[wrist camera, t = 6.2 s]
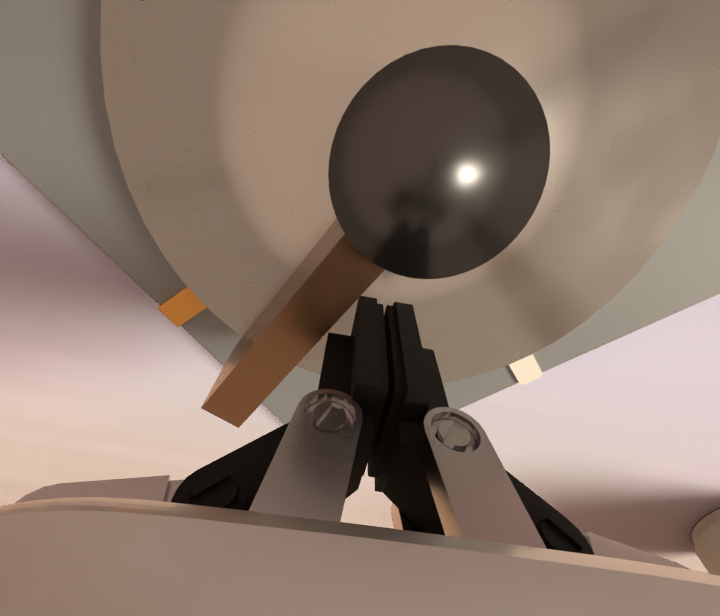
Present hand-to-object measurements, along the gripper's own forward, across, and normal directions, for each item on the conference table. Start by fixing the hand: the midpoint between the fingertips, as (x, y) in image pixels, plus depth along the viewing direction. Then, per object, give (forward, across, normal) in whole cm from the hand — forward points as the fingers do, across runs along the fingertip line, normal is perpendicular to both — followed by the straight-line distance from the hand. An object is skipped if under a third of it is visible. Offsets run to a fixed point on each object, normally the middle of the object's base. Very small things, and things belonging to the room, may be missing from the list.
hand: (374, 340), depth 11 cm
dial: (+2, 0, -5) cm, 6 cm away
